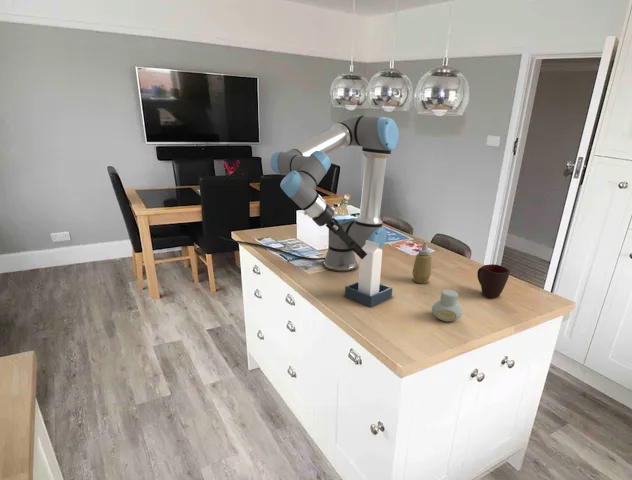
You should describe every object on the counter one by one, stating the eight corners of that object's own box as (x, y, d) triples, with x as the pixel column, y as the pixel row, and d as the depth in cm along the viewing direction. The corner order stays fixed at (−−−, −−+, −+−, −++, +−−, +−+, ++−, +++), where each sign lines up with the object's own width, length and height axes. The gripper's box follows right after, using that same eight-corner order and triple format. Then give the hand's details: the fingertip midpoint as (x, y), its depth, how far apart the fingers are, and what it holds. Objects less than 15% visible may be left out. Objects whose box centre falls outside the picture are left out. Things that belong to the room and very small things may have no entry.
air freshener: (429, 320, 149) (433, 294, 145) (432, 310, 157) (435, 286, 153) (460, 325, 147) (465, 299, 143) (461, 315, 155) (465, 290, 151)
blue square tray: (344, 296, 163) (345, 286, 161) (366, 287, 172) (367, 278, 171) (370, 307, 156) (371, 297, 154) (391, 297, 165) (392, 287, 164)
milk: (366, 291, 168) (370, 238, 159) (379, 295, 164) (383, 241, 155) (357, 295, 163) (360, 241, 154) (369, 300, 160) (373, 244, 151)
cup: (489, 302, 168) (495, 274, 163) (467, 288, 179) (472, 262, 174) (507, 298, 172) (513, 271, 167) (485, 286, 183) (490, 260, 178)
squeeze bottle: (429, 285, 179) (434, 245, 171) (410, 283, 180) (415, 243, 173) (430, 279, 186) (435, 240, 179) (412, 276, 187) (417, 238, 180)
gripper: (303, 210, 153) (340, 247, 165) (320, 228, 132) (362, 269, 144) (317, 195, 153) (354, 233, 164) (337, 211, 132) (377, 254, 144)
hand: (358, 250), depth 154 cm, fingers open, 13 cm apart
